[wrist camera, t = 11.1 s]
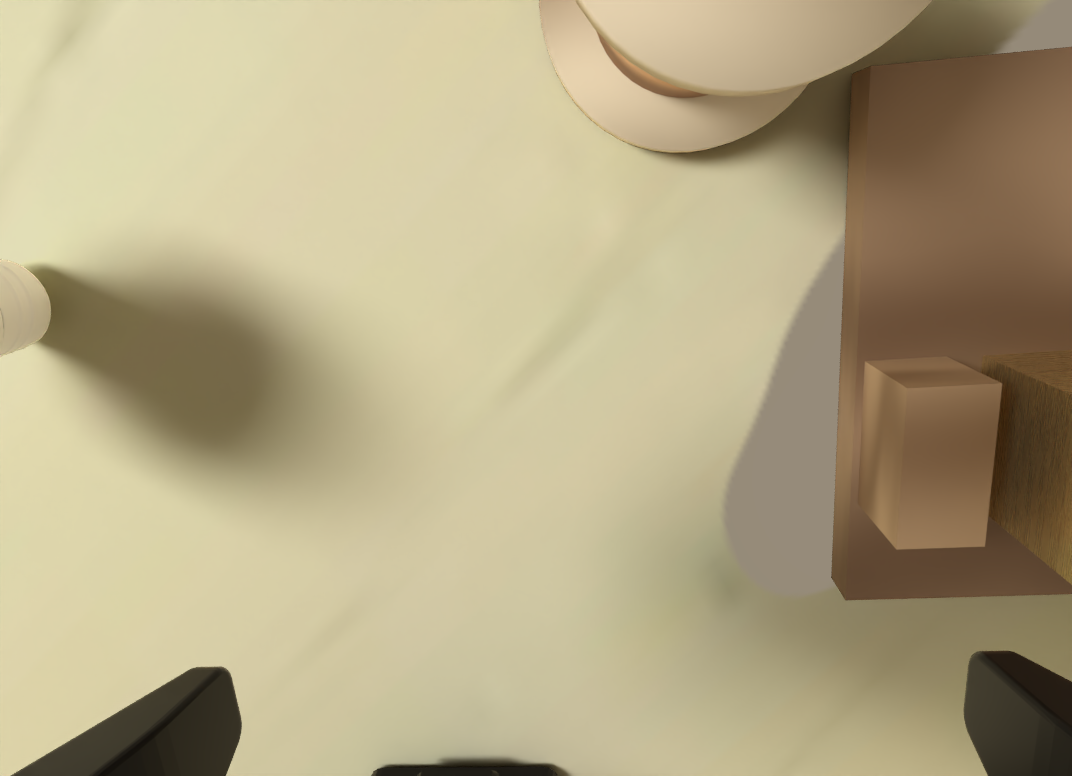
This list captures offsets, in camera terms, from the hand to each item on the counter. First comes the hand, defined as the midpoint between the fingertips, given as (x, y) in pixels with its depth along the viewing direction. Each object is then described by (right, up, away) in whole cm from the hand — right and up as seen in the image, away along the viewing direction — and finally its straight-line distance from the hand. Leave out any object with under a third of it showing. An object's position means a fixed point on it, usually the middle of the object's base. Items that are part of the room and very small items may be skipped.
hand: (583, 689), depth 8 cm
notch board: (+13, +5, +10) cm, 17 cm away
